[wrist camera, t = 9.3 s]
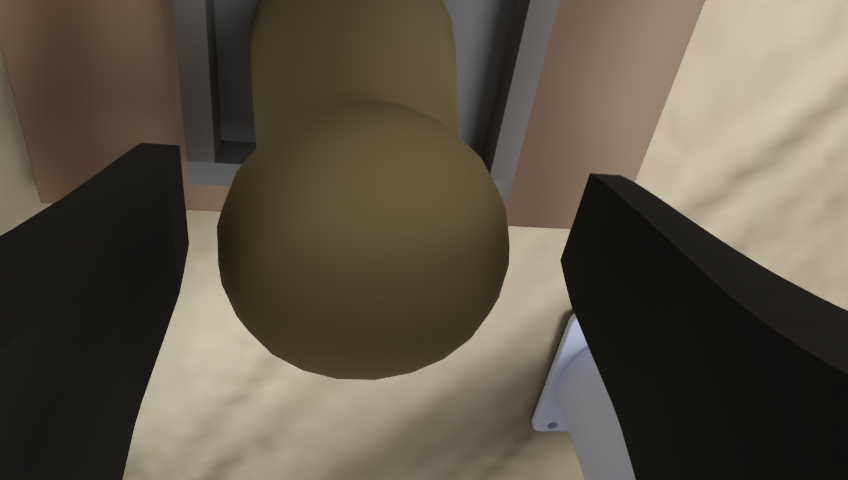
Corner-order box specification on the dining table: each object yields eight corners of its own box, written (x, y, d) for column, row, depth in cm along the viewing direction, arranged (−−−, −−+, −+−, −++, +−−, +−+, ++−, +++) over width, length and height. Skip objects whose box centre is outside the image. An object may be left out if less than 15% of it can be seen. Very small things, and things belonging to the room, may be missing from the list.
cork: (231, -54, 17) (124, 158, 8) (459, -59, 18) (581, 135, 9) (264, 149, 21) (215, 442, 12) (452, 140, 21) (534, 414, 13)
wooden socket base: (764, -221, 17) (825, -216, 15) (605, 213, 25) (629, 255, 23) (-78, -376, 14) (-153, -398, 12) (53, 182, 22) (23, 229, 20)
